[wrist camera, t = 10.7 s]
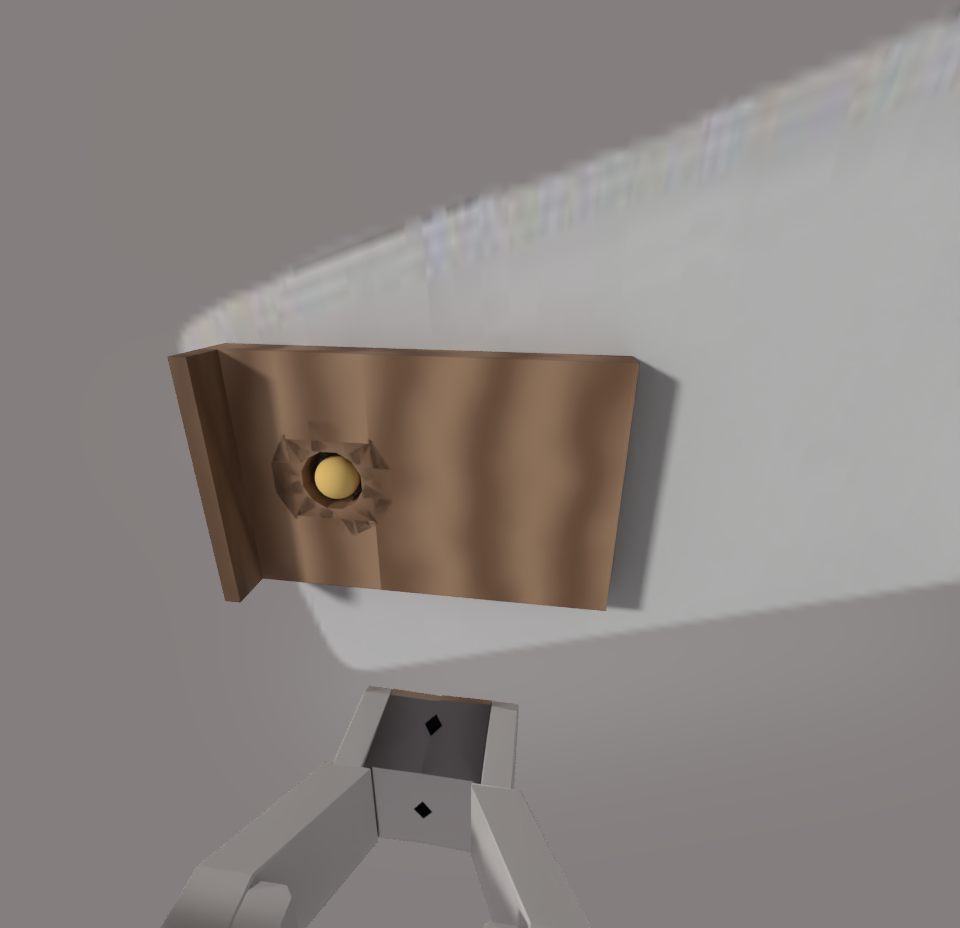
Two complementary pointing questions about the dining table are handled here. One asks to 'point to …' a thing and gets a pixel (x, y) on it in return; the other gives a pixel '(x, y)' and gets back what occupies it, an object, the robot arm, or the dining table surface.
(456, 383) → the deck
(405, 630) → the dining table surface
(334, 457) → the ball
